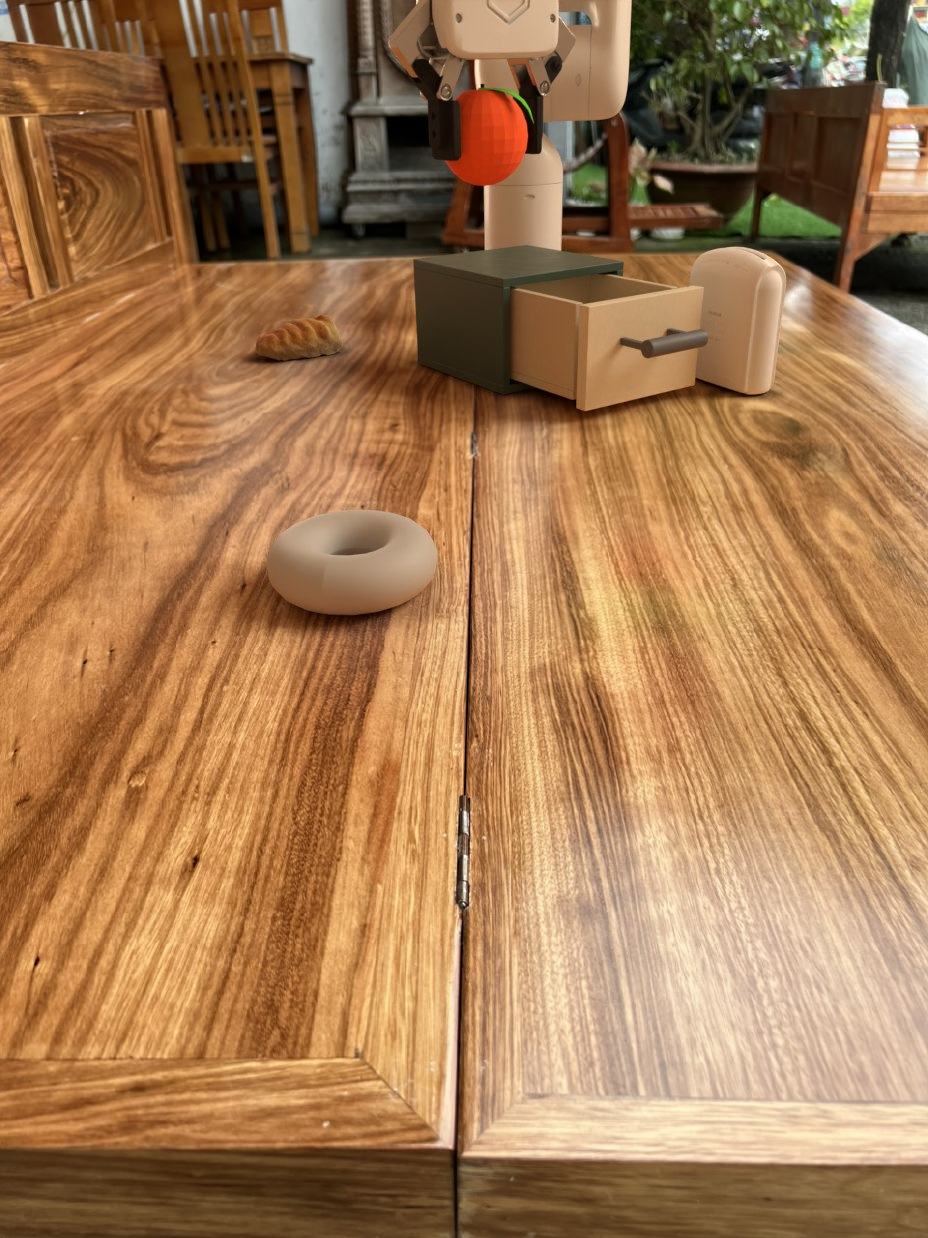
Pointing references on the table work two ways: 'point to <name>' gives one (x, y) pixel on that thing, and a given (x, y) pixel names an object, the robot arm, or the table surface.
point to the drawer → (605, 337)
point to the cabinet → (484, 306)
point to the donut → (352, 562)
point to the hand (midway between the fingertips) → (487, 154)
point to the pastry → (300, 339)
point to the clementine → (490, 135)
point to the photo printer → (739, 317)
